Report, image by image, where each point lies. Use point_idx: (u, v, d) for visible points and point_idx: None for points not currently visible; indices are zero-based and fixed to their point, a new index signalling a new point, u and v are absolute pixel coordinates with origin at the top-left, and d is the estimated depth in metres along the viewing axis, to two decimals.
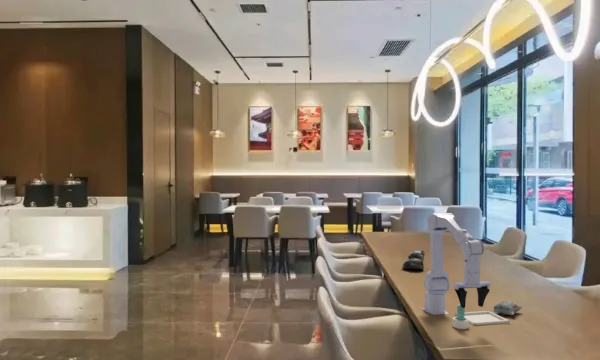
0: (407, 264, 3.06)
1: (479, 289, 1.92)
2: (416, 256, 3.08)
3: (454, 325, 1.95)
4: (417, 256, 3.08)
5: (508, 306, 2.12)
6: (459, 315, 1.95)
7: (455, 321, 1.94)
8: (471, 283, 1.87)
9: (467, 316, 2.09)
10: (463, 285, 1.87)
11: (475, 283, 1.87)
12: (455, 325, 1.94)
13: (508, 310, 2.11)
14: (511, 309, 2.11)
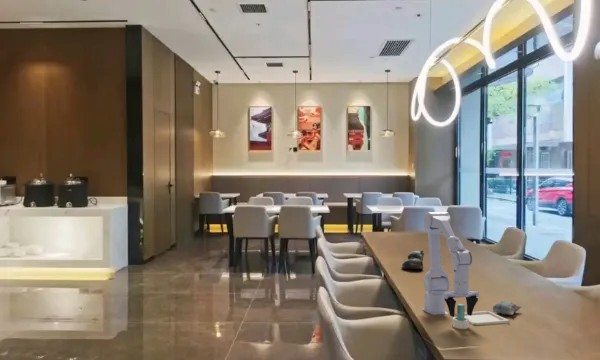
0: (407, 264, 3.06)
1: (468, 298, 1.97)
2: (415, 256, 3.08)
3: (454, 325, 1.95)
4: (416, 256, 3.08)
5: (507, 306, 2.13)
6: (459, 315, 1.95)
7: (455, 321, 1.94)
8: (460, 293, 1.93)
9: (467, 316, 2.09)
10: (452, 294, 1.93)
11: (464, 293, 1.93)
12: (455, 325, 1.94)
13: (507, 310, 2.12)
14: (510, 309, 2.11)
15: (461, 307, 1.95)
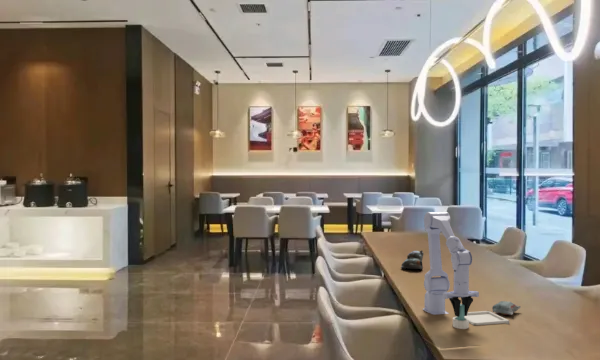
0: (406, 264, 3.06)
1: (463, 298, 1.97)
2: (415, 256, 3.09)
3: (454, 325, 1.95)
4: (416, 256, 3.08)
5: (506, 306, 2.13)
6: (459, 315, 1.95)
7: (455, 321, 1.94)
8: (460, 293, 1.93)
9: (467, 316, 2.09)
10: (452, 294, 1.93)
11: (464, 293, 1.93)
12: (455, 325, 1.94)
13: (507, 310, 2.12)
14: (510, 309, 2.11)
15: (461, 307, 1.95)
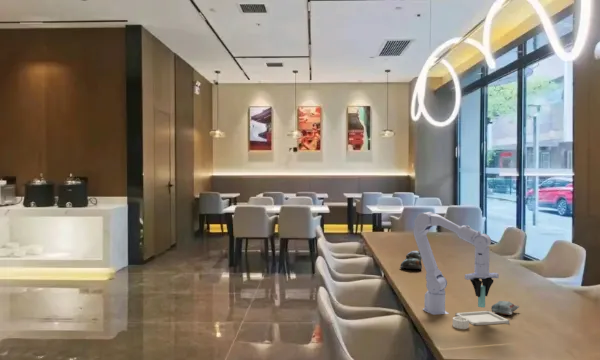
0: (405, 264, 3.07)
1: (484, 280, 2.07)
2: (414, 256, 3.09)
3: (454, 325, 1.95)
4: (415, 256, 3.08)
5: (505, 306, 2.13)
6: (480, 295, 2.04)
7: (455, 321, 1.94)
8: (481, 274, 2.03)
9: (467, 316, 2.09)
10: (473, 276, 2.03)
11: (485, 274, 2.03)
12: (455, 325, 1.94)
13: (506, 310, 2.12)
14: (509, 309, 2.12)
15: (482, 288, 2.04)
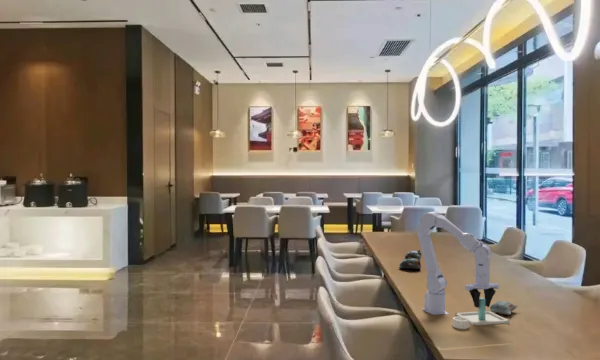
0: (404, 264, 3.07)
1: (486, 290, 2.07)
2: (413, 256, 3.09)
3: (454, 325, 1.95)
4: (414, 256, 3.09)
5: (504, 306, 2.13)
6: (480, 308, 2.05)
7: (455, 321, 1.94)
8: (481, 285, 2.03)
9: (467, 316, 2.09)
10: (474, 286, 2.03)
11: (485, 285, 2.03)
12: (455, 325, 1.94)
13: (505, 309, 2.12)
14: (508, 308, 2.12)
15: (482, 300, 2.04)
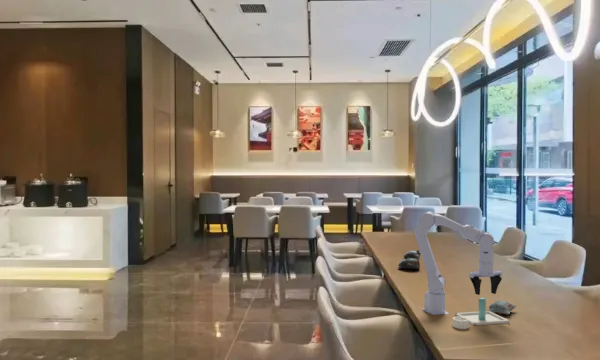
0: (404, 264, 3.07)
1: (492, 278, 2.10)
2: (412, 256, 3.09)
3: (454, 325, 1.95)
4: (413, 256, 3.09)
5: (503, 305, 2.14)
6: (480, 308, 2.05)
7: (455, 321, 1.94)
8: (485, 272, 2.06)
9: (467, 316, 2.09)
10: (478, 274, 2.06)
11: (489, 272, 2.06)
12: (455, 325, 1.94)
13: (504, 309, 2.12)
14: (507, 308, 2.12)
15: (482, 300, 2.04)
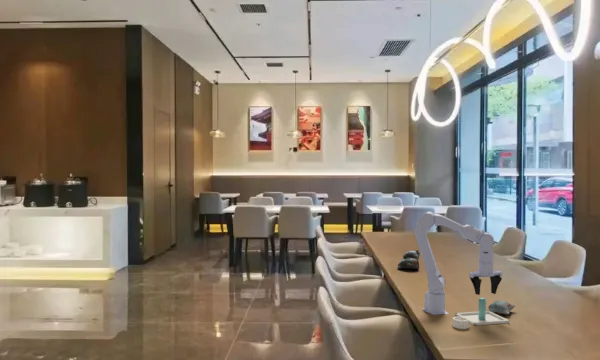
0: (403, 264, 3.07)
1: (492, 278, 2.10)
2: (411, 256, 3.09)
3: (454, 325, 1.95)
4: (413, 256, 3.09)
5: (502, 305, 2.14)
6: (480, 308, 2.05)
7: (455, 321, 1.94)
8: (485, 272, 2.06)
9: (467, 316, 2.09)
10: (478, 274, 2.06)
11: (489, 272, 2.06)
12: (455, 325, 1.94)
13: (503, 309, 2.13)
14: (506, 308, 2.12)
15: (482, 300, 2.05)
